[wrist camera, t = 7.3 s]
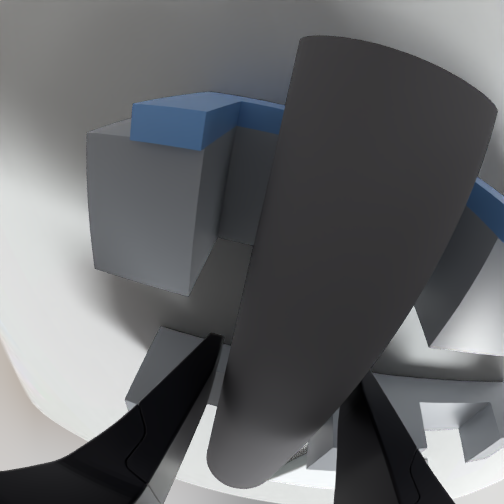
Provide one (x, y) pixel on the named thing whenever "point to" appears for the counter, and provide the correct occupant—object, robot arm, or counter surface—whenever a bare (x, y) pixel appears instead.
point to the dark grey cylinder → (342, 240)
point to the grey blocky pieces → (244, 231)
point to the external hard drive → (304, 475)
